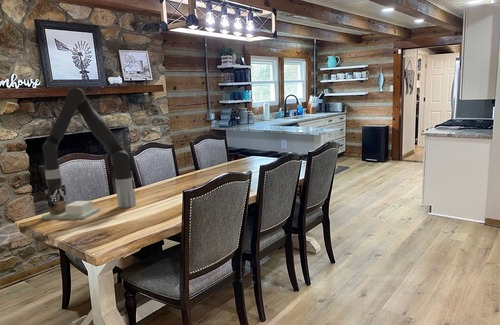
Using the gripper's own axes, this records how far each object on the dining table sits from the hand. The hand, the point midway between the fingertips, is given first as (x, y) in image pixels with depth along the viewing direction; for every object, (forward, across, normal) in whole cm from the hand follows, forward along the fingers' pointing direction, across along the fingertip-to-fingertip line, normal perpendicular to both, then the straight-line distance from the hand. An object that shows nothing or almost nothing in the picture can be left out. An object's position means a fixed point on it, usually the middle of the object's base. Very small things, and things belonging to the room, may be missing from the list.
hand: (57, 205), depth 213 cm
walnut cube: (+4, 0, 0) cm, 4 cm away
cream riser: (+4, +2, -12) cm, 13 cm away
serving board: (+6, +1, -7) cm, 9 cm away
